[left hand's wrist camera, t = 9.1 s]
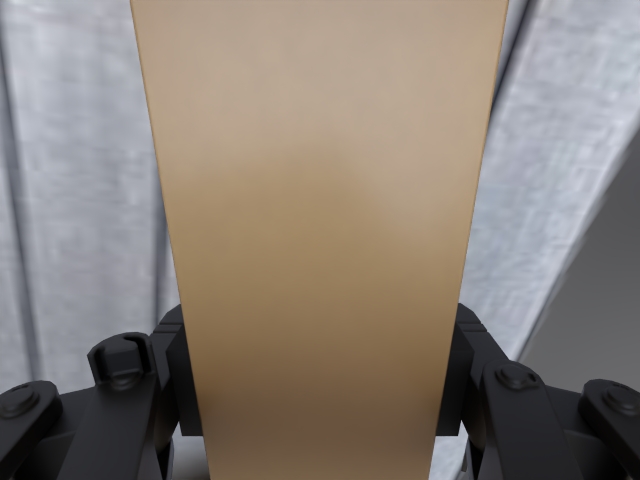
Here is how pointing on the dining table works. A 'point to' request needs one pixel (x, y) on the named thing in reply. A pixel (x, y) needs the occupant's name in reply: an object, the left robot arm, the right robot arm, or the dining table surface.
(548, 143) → the dining table surface
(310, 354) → the bar
